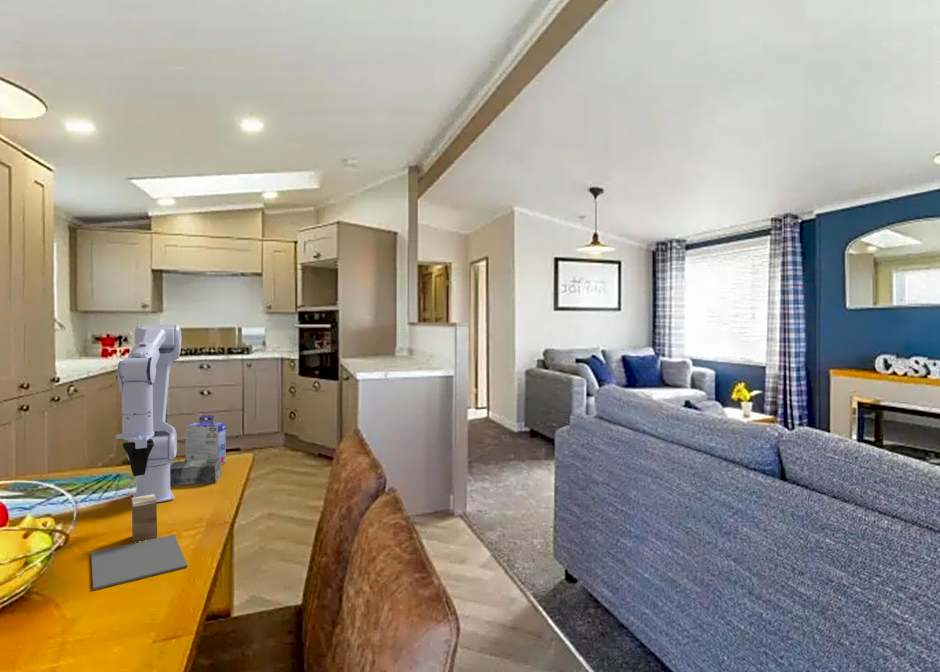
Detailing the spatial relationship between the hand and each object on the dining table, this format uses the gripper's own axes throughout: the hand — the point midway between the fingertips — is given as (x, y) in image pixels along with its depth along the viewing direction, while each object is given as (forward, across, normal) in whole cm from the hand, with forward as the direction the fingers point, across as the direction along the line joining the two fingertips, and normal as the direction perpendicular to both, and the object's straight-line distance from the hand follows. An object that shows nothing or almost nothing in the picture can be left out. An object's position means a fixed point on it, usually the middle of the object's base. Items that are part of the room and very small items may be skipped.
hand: (138, 474), depth 117 cm
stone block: (+10, -25, +14) cm, 31 cm away
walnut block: (+11, +10, 0) cm, 14 cm away
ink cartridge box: (+10, -38, +20) cm, 45 cm away
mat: (+11, +20, -2) cm, 23 cm away
